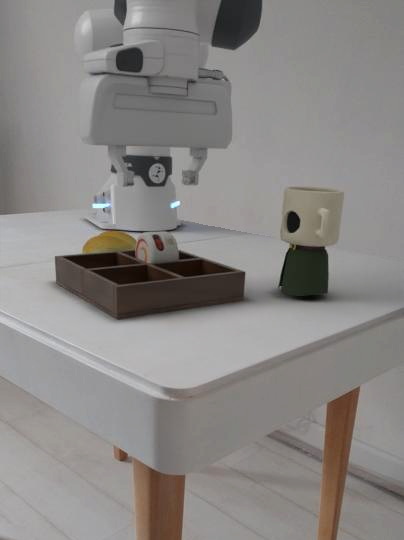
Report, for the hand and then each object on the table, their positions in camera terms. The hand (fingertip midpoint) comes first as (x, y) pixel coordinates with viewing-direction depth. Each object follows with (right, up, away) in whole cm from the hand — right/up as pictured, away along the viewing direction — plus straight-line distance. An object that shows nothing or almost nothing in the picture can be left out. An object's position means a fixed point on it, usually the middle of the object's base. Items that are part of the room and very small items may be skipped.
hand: (158, 185), depth 71 cm
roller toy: (-1, -11, +4) cm, 12 cm away
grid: (-1, -14, -1) cm, 14 cm away
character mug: (+18, -14, +1) cm, 23 cm away
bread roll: (-9, -6, +17) cm, 20 cm away
